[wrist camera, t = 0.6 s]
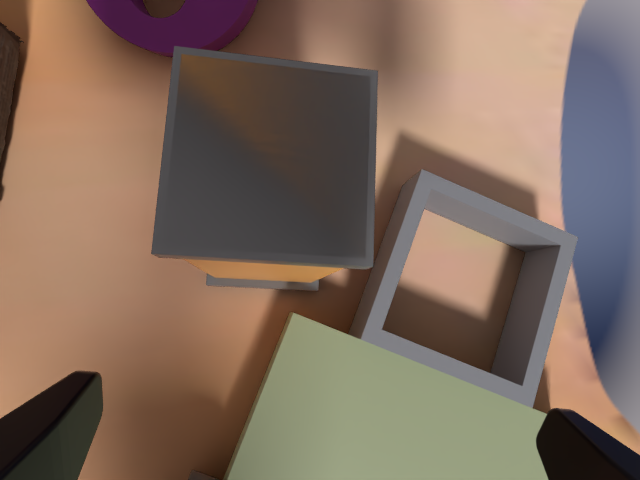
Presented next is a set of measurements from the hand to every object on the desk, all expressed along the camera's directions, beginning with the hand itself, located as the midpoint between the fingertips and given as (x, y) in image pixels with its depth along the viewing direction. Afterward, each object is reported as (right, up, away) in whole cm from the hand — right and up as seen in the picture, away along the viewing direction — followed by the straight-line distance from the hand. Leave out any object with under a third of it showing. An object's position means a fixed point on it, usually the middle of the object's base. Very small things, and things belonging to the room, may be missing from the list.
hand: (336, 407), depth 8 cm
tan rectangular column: (-3, +4, +15) cm, 15 cm away
